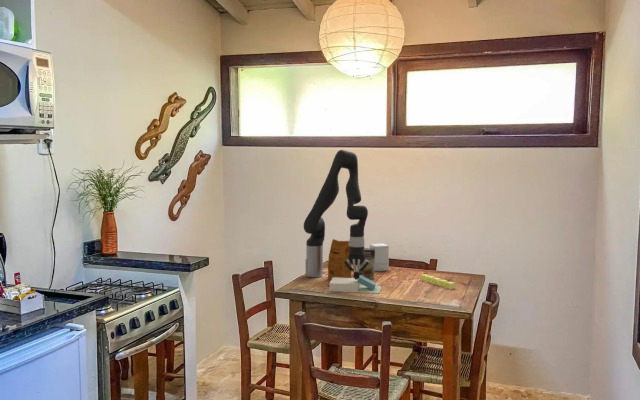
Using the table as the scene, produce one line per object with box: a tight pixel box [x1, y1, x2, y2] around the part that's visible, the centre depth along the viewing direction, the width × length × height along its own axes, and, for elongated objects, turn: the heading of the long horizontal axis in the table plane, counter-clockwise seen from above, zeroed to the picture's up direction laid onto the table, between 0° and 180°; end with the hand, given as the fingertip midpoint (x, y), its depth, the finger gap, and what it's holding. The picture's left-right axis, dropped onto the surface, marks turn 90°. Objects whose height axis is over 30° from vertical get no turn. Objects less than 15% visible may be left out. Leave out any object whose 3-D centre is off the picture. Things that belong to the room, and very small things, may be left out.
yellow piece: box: [420, 273, 456, 290], centre depth 277 cm, size 32×32×3 cm
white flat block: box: [328, 277, 361, 293], centre depth 265 cm, size 14×13×4 cm
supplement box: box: [369, 243, 390, 272], centre depth 310 cm, size 9×9×15 cm
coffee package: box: [327, 238, 352, 281], centre depth 282 cm, size 10×12×22 cm
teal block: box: [357, 275, 377, 290], centre depth 263 cm, size 9×6×2 cm, turn 81°
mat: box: [357, 284, 382, 295], centre depth 263 cm, size 11×14×1 cm
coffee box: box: [359, 247, 375, 280], centre depth 288 cm, size 9×6×16 cm
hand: (356, 279), depth 263 cm, fingers closed
